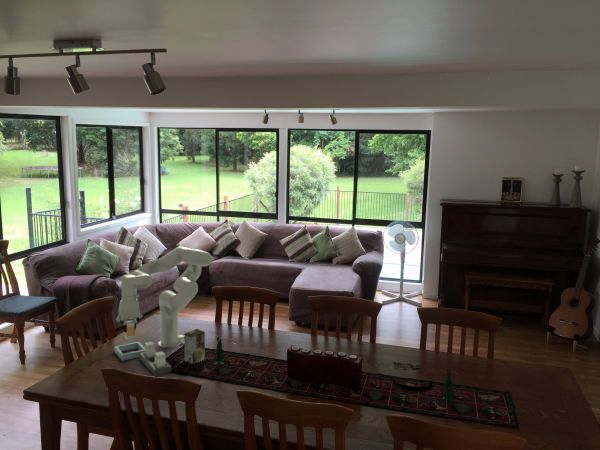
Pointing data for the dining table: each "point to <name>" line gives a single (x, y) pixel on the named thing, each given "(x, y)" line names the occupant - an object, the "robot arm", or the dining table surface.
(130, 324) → the orange fuse
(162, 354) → the front fuse
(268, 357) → the dining table surface
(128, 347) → the slate tray
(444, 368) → the dining table surface
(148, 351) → the back fuse
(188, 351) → the coffee box
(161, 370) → the gray rectangular tray
